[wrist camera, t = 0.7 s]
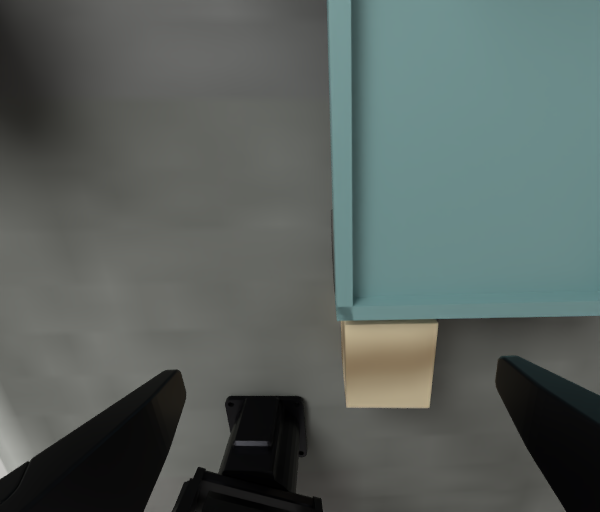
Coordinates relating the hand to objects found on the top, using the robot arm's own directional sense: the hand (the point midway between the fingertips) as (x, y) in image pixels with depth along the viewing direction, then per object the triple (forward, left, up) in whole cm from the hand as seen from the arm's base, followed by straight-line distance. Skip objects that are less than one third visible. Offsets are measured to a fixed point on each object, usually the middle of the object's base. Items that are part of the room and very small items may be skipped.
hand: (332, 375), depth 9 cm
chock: (-6, -3, -13) cm, 14 cm away
